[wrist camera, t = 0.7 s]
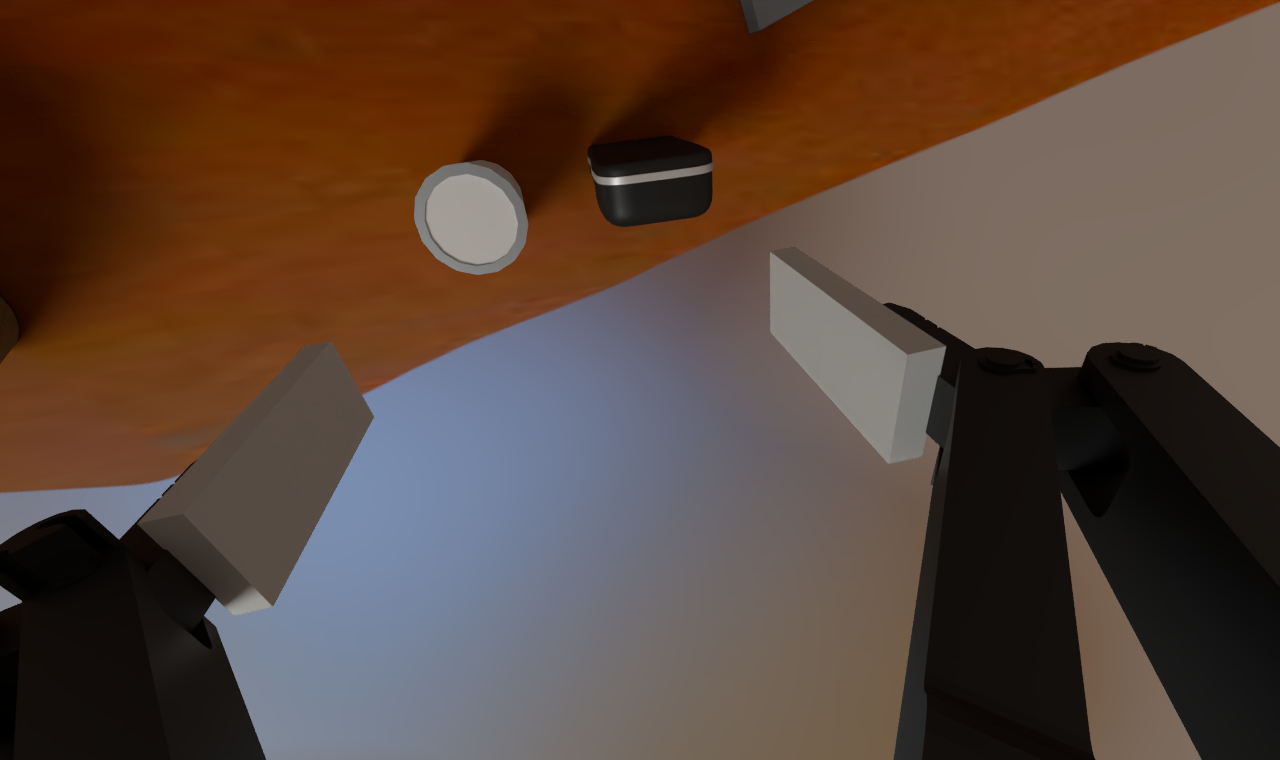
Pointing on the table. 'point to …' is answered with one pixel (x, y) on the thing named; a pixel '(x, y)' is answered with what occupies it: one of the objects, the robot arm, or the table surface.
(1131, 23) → the table surface
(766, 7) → the console
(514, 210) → the grey rimmed cylinder
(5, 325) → the plant pot
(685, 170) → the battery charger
